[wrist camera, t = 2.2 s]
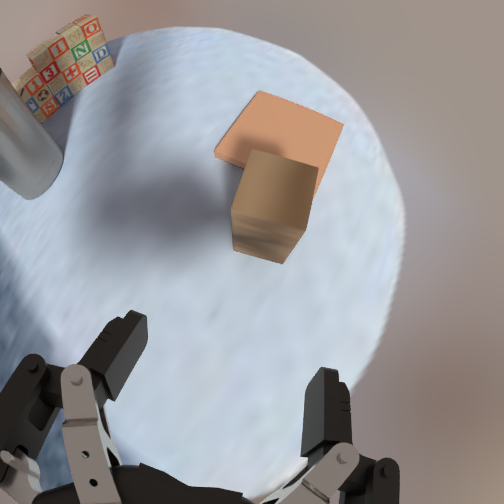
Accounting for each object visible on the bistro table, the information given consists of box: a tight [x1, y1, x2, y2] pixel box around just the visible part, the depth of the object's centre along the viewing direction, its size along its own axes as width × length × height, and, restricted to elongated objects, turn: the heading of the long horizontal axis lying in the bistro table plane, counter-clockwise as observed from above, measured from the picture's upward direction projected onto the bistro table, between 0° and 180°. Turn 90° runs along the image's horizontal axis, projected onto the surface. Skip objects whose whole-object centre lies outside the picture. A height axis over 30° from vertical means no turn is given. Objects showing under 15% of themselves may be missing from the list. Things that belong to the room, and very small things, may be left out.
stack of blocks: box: [12, 15, 115, 123], centre depth 27 cm, size 21×6×12 cm, turn 136°
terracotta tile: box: [214, 91, 344, 198], centre depth 30 cm, size 12×12×1 cm
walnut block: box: [231, 149, 319, 264], centre depth 23 cm, size 5×5×10 cm
